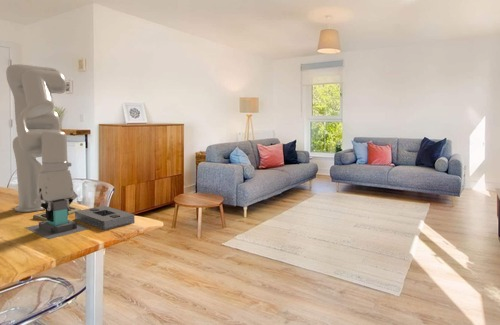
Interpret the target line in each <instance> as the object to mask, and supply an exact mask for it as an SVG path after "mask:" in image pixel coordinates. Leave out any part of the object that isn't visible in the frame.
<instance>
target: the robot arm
mask: <svg viewBox="0 0 500 325" xmlns="http://www.w3.org/2000/svg"><path fill="white" fill-rule="evenodd" d="M5 74H6V81H7V83H8V86H9V89H10V90H11V92H12V95H13V100H14V101H13V102H14V117H15V118H14V120H15V126H16V134H17V136H16V137H15V138H14V139H13V140H12V150H13V153H14V158H15V164H16V166H15V167H16V175H17V177H16V179H17V181H16V182H17V194H18V205H16V206H15V207H14V211H16V212H18V213H29V212H30V213H31V212H39V211H43V210H45V212H46V219H47V220H48V221H50V222H53V221H54V220H53V210H52V202H53V201H57V200H63V199H64V200H67V212H68V207H69V206H71V204H72V203H73V201H75V200H76V199H77V198H78V197H79V196H78V194H77V193H76V192H75V190H74V183H73V179H72V178H73V177H72V174H71V171H70V169H69V167H72V162H69V161H68V143H67V142H68V141H67V140H68V139H67V134H66V132H65V131H62V130H61V119H60V116H59V114H58V112H57V111H56V110H54V107H55V104H54V100H53V95H52V94H60V95H61V94H64V93H65V92H66V90H67V80H66V77H65V75H64V74H63V73H62V72H61V71H60V70H58V69H56V68H52V67H48V66H46V67H45V66H40V65H39V66H38V65H32V64H31V65H30V64H29V65H28V64H10V65H8V66H7V68H6V71H5ZM36 158H41V162H39V161H38V160H37V159H36Z"/></svg>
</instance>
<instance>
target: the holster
mask: <svg viewBox="0 0 500 325" xmlns="http://www.w3.org/2000/svg"><path fill="white" fill-rule="evenodd" d="M24 229H26V230H28V231H29V232H32V233H34V234H37V235H38V236H41V237H43V238H45V239H47V240H51V239H55V238H59V237H64V236H68V235H72V234H74V233H75V234H77V233H79V232H83V231H87V230H91V229H92V228H91V227H88V226H85V225H83V224H81V223H77V222H76V221H74V220H71V219H68V223H67V224H63V225H58V226H53V225H51V224H48V221H43V220H42V221H39V222H38V224H36V225H30V226H26V227H24Z"/></svg>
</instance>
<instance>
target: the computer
mask: <svg viewBox="0 0 500 325" xmlns="http://www.w3.org/2000/svg"><path fill="white" fill-rule="evenodd" d="M80 210H82V209H81V208H79V207H75V206H71V205H70V206H69V207H68V216H70V215H75V211H80ZM32 219H33V220H38V221H42V222H43V221H48V220H47V219H46V211H43V212H40V213H37V214H34V215H32Z"/></svg>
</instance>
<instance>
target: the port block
mask: <svg viewBox="0 0 500 325" xmlns="http://www.w3.org/2000/svg"><path fill="white" fill-rule="evenodd" d="M74 219H75V220H76V221H79V222H81V223H84V224H87V225H90V226H92V227H94V228H98V229H100V230H103V231H107V230H110V229H113V228H114V229H115V228H118V227H123V226H126V225H129V224H135V214H133V213H131V212H128V211H123V210H120V209H117V208H114V207H110V206H107V205H101V206H95V207H91V208H86V209H81V210H80V211H75V213H74Z"/></svg>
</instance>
